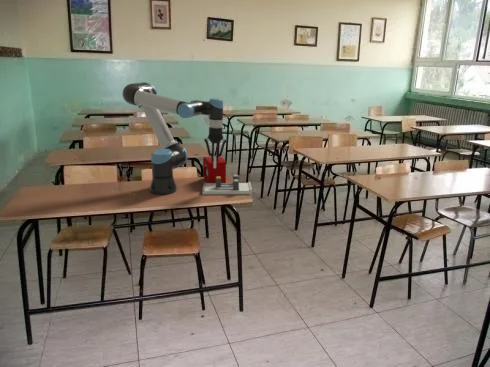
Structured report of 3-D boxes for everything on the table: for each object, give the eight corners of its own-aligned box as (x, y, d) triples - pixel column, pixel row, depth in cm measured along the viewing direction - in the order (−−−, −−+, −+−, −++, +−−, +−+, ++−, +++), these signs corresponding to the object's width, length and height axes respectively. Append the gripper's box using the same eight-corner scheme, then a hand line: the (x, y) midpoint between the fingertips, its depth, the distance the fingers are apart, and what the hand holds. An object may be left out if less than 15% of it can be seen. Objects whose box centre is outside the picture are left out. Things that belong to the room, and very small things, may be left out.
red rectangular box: (203, 178, 257) (202, 155, 253) (219, 177, 260) (219, 154, 256) (208, 185, 242) (208, 161, 238) (225, 184, 245) (225, 160, 241)
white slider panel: (202, 194, 227) (202, 181, 224) (203, 186, 241) (203, 174, 239) (251, 194, 228) (252, 181, 226) (250, 186, 242) (250, 173, 240)
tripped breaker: (215, 186, 232) (215, 177, 230) (216, 185, 235) (215, 176, 233) (221, 186, 232) (221, 177, 230) (221, 185, 235) (221, 176, 233)
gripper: (203, 127, 219) (203, 169, 226) (227, 128, 220) (226, 169, 227) (204, 125, 226) (203, 165, 234) (227, 126, 227) (225, 166, 235)
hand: (214, 167), depth 231 cm, fingers closed
